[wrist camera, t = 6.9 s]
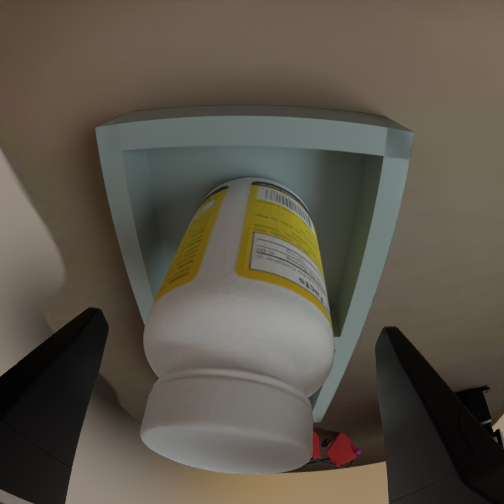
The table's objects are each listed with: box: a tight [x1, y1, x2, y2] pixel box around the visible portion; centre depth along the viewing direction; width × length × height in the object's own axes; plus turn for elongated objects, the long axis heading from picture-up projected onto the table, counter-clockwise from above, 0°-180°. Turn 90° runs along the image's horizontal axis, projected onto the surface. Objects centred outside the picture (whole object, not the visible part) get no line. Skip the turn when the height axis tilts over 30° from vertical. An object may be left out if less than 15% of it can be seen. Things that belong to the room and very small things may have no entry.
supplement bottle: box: [140, 177, 334, 475], centre depth 10 cm, size 5×5×10 cm
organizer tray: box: [95, 105, 414, 422], centre depth 16 cm, size 21×11×3 cm, turn 0°
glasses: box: [301, 431, 361, 468], centre depth 29 cm, size 14×16×5 cm
